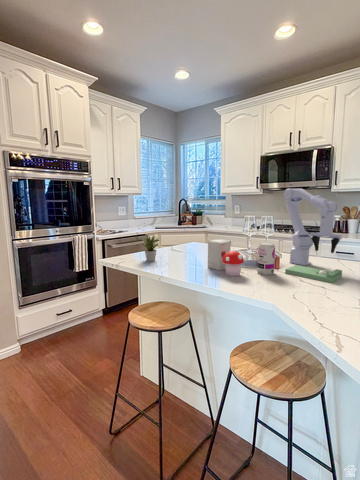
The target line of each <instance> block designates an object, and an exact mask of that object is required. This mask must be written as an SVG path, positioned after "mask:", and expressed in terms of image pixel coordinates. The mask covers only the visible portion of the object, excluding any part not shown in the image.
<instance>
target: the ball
mask: <svg viewBox="0 0 360 480" xmlns="http://www.w3.org/2000/svg"><path fill="white" fill-rule="evenodd" d="M324 270H325V269H321V271H319V273H318V274H322V275H327V272H326V271H327V270H326V271H324Z"/></svg>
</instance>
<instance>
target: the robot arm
mask: <svg viewBox="0 0 360 480" xmlns="http://www.w3.org/2000/svg"><path fill="white" fill-rule="evenodd" d="M283 197H284V202H285V204H286V205H285V206H286V210H287V213H288V215H289V218H290V221H291V226H292V227H293V231H294V234H292V236H291V238H292V245H293V246H292V248H291V249H290V257H289V263H290V264H294V265H299V266H308V265H310V264H312V262H311V261H309V260H310V259H309V258H310V249H311V248H312V247H313V245H314V251H315V252H317V251H319V249H320V248H319V247H320V246H319V245H320V244H319V243H320V240H321V238H326V239H331V240H330V241H331V246H330V247H331V248H330V253H331V254H334V253H335V250H336V248H337V246H338V244H339V242H340V241H341V240H342V238H343V235H341V234H336V233H333V230H334V217H335V216H334V215H335V212H337V209H338V204H337V203H336V202H335V201H333V200H332V201H330V200H329V199H327V198H324V197H323V196H322V195H319V194H318V195H313V194H311V193H309V192H308V191H306V189H303V188H302V187H301V188H300V187H299V188H289V187H288V188H286V189H285V190H284V192H283ZM302 200H306V201H308V202H309V203H310V205H311V206H312V207H314V208H315V209H318V210H319V215H320V221H319V222H320V225H319V232H310V233H309V232H308V231H307V230H305V227H304V224H303V221H302V217H301V215H300V214H301V213H300V212H299V208H298V205H299V204H300V202H301V201H302Z"/></svg>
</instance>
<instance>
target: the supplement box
mask: <svg viewBox="0 0 360 480" xmlns="http://www.w3.org/2000/svg"><path fill="white" fill-rule="evenodd" d="M231 242H232V241H231V240H227V239H226V240H225V239H220V238H219V239H218V238H217V239H212V240H208V241H207V268H208V269H213V270H217V271H222V270H226V268H225V267H226V263H223V262H222V260H223V256H224V255H225V254H226V253H227V252H229V251H231V244H232V243H231Z"/></svg>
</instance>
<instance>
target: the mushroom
mask: <svg viewBox="0 0 360 480" xmlns="http://www.w3.org/2000/svg"><path fill="white" fill-rule="evenodd" d="M222 262H223V263H226V267H225V268H226V269H225V274H226V276H230V277H239V276H240V274H241V271H242V264H244V263H245V262H244V256H243V255H242V254H241V253H240V252H238V251H236V250H235V249H233V250H230V251H229V252H227V253H226V254H225V255H224V256H223V260H222Z"/></svg>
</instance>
